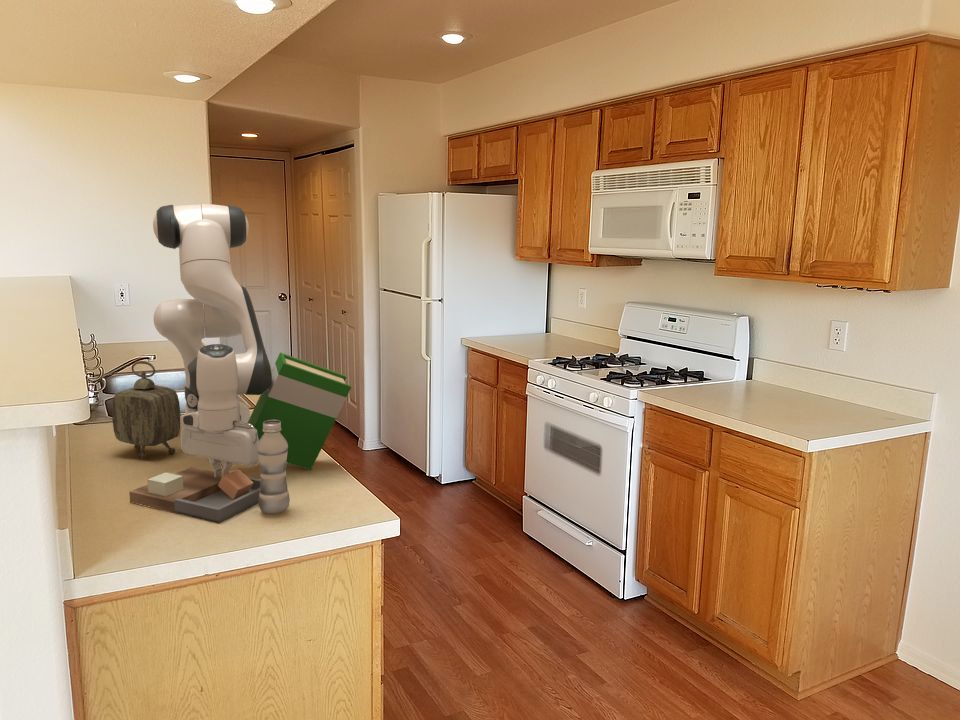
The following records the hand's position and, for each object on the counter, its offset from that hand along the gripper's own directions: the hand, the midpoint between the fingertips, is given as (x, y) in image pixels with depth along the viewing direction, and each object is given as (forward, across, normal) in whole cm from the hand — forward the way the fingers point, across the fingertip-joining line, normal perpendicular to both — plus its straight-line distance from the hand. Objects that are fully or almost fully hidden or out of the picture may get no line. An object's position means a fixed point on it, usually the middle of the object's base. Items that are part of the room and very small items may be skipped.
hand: (221, 477), depth 165 cm
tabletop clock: (+4, +37, -12) cm, 39 cm away
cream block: (+2, +8, +8) cm, 12 cm away
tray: (+4, -4, +3) cm, 7 cm away
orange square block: (+2, -3, 0) cm, 4 cm away
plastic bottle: (+4, -16, +2) cm, 17 cm away
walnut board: (+4, +8, +4) cm, 10 cm away
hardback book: (0, +1, -20) cm, 20 cm away
